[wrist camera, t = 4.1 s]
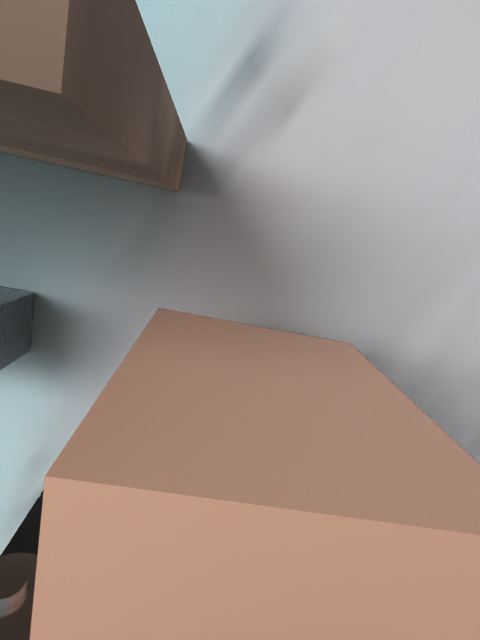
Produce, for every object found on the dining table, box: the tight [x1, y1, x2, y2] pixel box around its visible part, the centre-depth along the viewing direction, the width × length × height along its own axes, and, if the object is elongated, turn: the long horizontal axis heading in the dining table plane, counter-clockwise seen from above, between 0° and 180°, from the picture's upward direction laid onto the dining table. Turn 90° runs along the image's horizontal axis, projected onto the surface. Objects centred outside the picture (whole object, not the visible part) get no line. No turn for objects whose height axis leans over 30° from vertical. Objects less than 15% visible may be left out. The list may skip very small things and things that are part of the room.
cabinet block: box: [30, 308, 480, 640], centre depth 8 cm, size 8×6×7 cm
